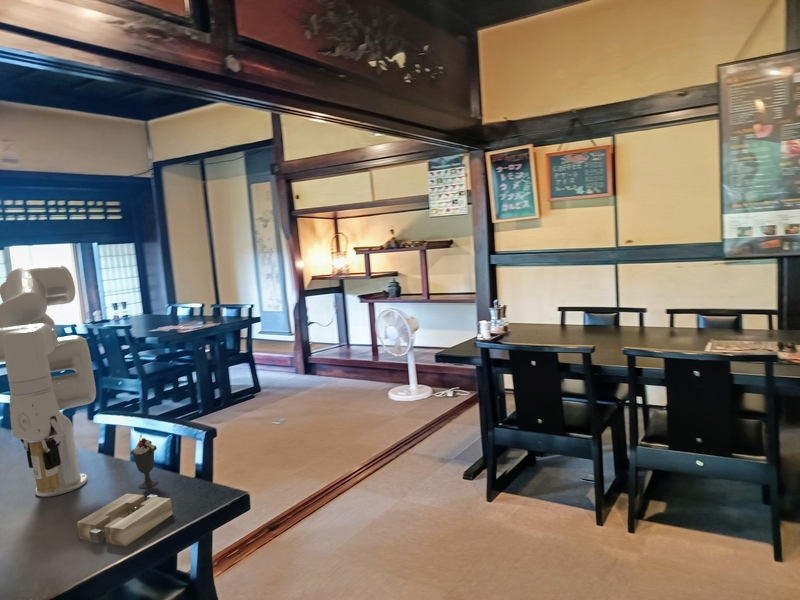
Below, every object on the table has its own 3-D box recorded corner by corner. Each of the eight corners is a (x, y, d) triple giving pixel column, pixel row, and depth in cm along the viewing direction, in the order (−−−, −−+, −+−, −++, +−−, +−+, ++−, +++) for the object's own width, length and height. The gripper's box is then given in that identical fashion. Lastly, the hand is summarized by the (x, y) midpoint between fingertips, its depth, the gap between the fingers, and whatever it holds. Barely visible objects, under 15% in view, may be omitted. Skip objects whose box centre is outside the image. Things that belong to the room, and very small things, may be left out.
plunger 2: (129, 517, 130) (128, 507, 129) (151, 503, 136) (150, 494, 136) (137, 518, 129) (135, 508, 128) (159, 504, 135) (157, 495, 135)
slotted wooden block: (79, 538, 123) (77, 522, 123) (129, 508, 136) (127, 493, 136) (125, 546, 118) (122, 529, 118) (172, 514, 131) (170, 498, 131)
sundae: (144, 492, 145) (136, 438, 143) (130, 487, 149) (122, 435, 147) (166, 481, 151) (159, 430, 149) (152, 477, 154) (144, 427, 153)
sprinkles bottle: (61, 489, 119) (51, 430, 117) (36, 495, 116) (25, 436, 114) (60, 481, 122) (51, 425, 121) (36, 488, 120) (26, 430, 118)
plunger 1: (90, 541, 120) (89, 531, 119) (116, 525, 126) (115, 516, 126) (98, 543, 119) (97, 532, 119) (124, 526, 125) (122, 517, 125)
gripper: (-13, 390, 116) (2, 470, 118) (41, 392, 110) (55, 477, 112) (22, 380, 123) (35, 456, 125) (75, 381, 117) (88, 462, 119)
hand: (45, 465), depth 119 cm, fingers closed on sprinkles bottle, 4 cm apart
